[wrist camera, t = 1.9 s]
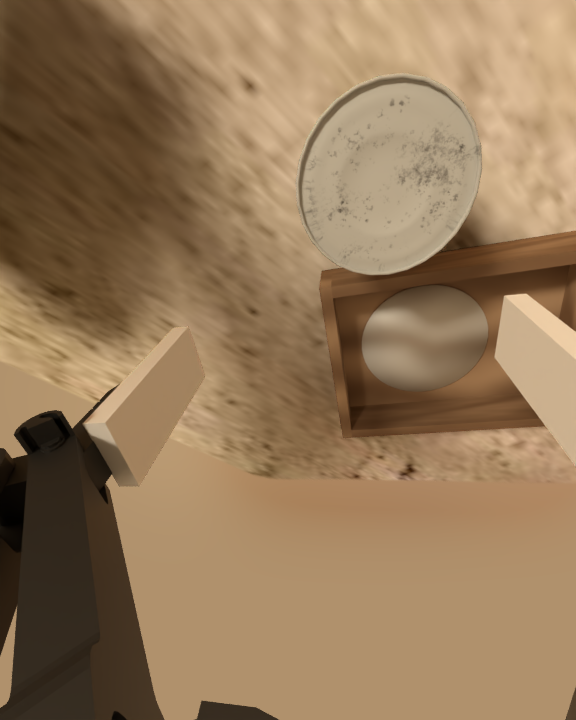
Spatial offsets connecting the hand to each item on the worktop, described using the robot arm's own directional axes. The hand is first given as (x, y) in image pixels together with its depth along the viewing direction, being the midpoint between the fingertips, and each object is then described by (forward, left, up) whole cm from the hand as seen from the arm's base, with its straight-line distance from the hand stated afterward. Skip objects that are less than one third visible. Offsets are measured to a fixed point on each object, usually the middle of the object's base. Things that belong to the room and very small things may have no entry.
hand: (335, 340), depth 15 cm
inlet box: (+11, +9, -20) cm, 25 cm away
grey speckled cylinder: (-5, +3, -20) cm, 21 cm away
